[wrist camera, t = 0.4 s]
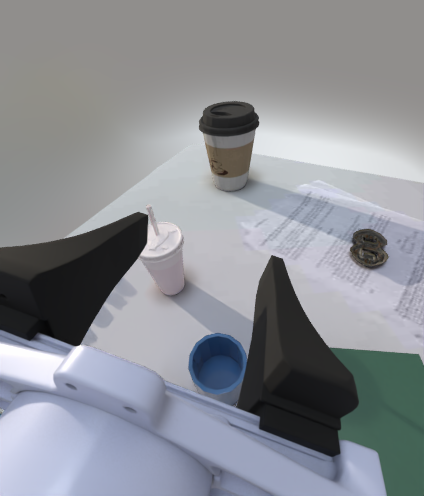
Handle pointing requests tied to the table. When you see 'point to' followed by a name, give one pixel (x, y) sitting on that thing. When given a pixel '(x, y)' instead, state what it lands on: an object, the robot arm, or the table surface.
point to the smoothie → (164, 255)
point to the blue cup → (218, 367)
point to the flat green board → (388, 415)
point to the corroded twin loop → (369, 247)
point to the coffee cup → (229, 142)
